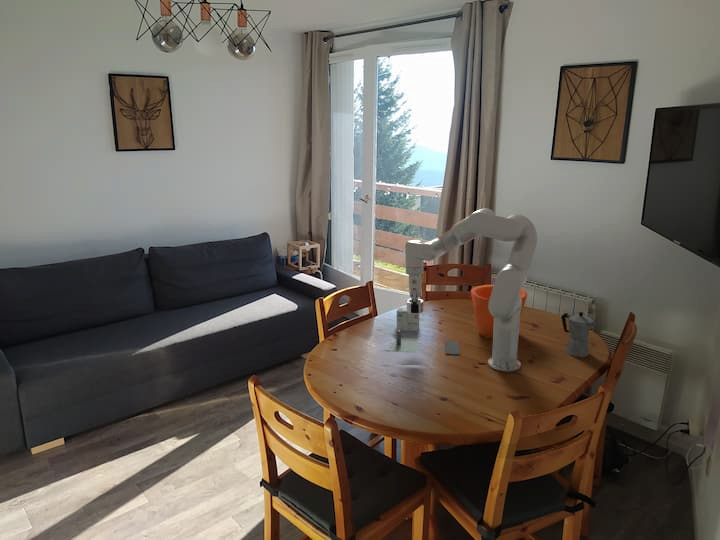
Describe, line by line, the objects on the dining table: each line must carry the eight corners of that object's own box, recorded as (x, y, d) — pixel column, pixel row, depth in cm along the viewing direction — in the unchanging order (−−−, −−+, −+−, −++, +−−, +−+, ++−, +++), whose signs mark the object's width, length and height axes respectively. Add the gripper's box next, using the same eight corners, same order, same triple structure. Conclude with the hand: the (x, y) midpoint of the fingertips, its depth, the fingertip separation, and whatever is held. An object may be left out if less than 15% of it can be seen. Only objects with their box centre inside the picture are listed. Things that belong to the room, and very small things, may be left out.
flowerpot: (531, 343, 226) (534, 300, 221) (474, 343, 227) (476, 301, 222) (516, 323, 250) (518, 284, 246) (464, 324, 251) (466, 285, 246)
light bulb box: (419, 327, 247) (419, 306, 244) (419, 333, 241) (419, 311, 238) (396, 327, 248) (396, 306, 246) (396, 332, 242) (396, 310, 239)
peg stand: (416, 354, 217) (416, 338, 215) (378, 352, 219) (378, 337, 217) (417, 340, 232) (417, 325, 230) (382, 338, 234) (382, 324, 233)
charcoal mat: (459, 355, 215) (459, 354, 215) (426, 353, 217) (426, 352, 217) (458, 342, 229) (458, 341, 229) (426, 341, 231) (426, 340, 231)
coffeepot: (598, 355, 212) (603, 314, 208) (585, 361, 207) (589, 318, 203) (566, 343, 225) (569, 304, 220) (552, 348, 220) (555, 308, 215)
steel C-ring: (423, 313, 217) (423, 303, 216) (406, 313, 218) (406, 303, 216) (423, 308, 223) (423, 298, 222) (407, 308, 224) (406, 298, 223)
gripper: (423, 274, 207) (423, 316, 211) (423, 264, 224) (424, 303, 228) (404, 274, 208) (405, 316, 212) (406, 264, 225) (407, 303, 229)
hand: (415, 309), depth 220 cm, fingers closed on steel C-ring, 7 cm apart
